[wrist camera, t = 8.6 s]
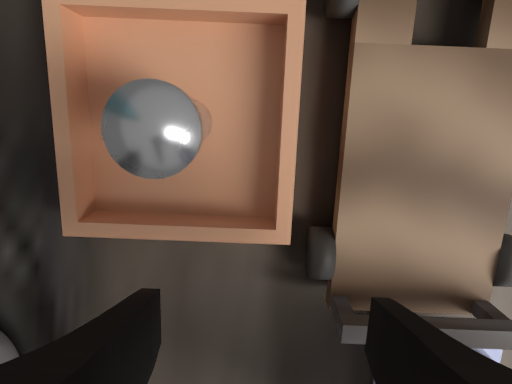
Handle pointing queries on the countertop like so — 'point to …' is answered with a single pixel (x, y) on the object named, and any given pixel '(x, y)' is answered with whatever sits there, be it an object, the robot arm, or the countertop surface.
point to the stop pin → (154, 128)
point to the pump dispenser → (6, 349)
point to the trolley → (421, 175)
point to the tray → (198, 88)
